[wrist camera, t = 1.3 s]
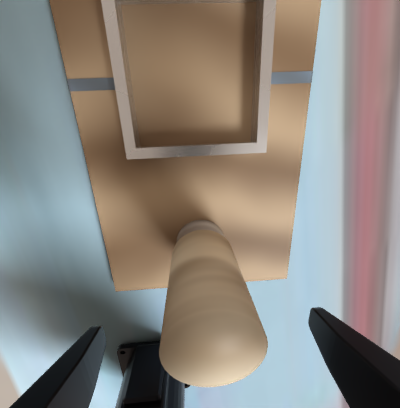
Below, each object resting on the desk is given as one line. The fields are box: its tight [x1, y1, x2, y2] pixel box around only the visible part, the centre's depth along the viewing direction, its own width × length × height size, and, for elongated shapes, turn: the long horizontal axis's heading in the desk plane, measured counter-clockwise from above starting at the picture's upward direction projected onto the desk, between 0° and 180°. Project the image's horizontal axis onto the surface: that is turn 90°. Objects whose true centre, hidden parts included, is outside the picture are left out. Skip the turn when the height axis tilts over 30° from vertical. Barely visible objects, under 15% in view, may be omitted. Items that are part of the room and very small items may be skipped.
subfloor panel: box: [49, 0, 321, 291], centre depth 13 cm, size 20×14×1 cm
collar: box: [101, 0, 276, 159], centre depth 11 cm, size 8×8×1 cm
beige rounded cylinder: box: [159, 220, 268, 387], centre depth 11 cm, size 4×4×8 cm
